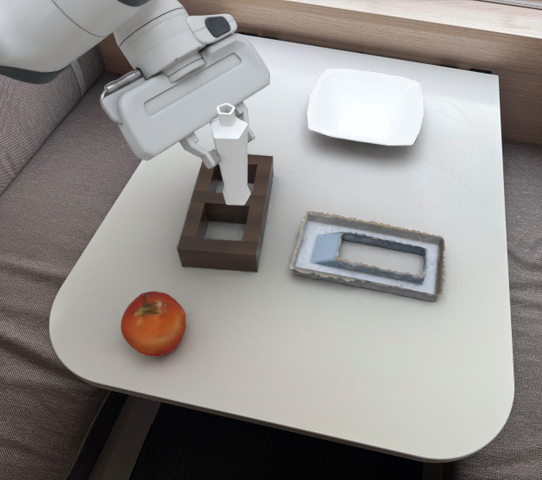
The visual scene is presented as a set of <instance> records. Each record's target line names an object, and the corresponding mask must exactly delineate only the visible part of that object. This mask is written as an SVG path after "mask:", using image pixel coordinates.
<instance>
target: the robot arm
mask: <svg viewBox="0 0 542 480" xmlns="http://www.w3.org/2000/svg"><path fill="white" fill-rule="evenodd" d="M237 29H238V24H237V22H236V20H235V18H234V17H233V15H231V14H229V13H219V14H209V15H208V14H207V15H206V14H205V15H189V14H188V12H187V10H186V8H185V7H184V6H183V5H182V3H181V2H180V1H179V0H0V75H1V76H4V77H5V78H9V79H12V80H15V81H18V82H22V83H26V84H32V85H46V84H49V83H52V82H53V81H54V80H55V79H56V78H58V77H59V76H60V75H61V74H62V73H63V72H64V71H65V70H67V68H69V67H70V66H71V65H72V63H74V61H77V59H79V58H80V57H82V56H83V55H84V54H85V53H87V52H89V51H90V50H92V49H93V48H94V47H96V46H97V45H98V44H99V43H100V42H102V41H104V40H105V39H106V38H107V37H109V36H110V35H111V34H113V37H114V39H115V43H116V46H117V47H118V48H119V49H120V52H121V53H122V54H123V56H124V57H125V59H126V60H127V62H128V63H129V65H130V66H131V67H132V70H131V71H129V72H127V73H125V74H124V75H122V76H121V77H119V78H118V79H115V80H112V81H110V82H108V83H107V84H105V85H104V87H103V90H102V92H101V94H100V97H99V102H100V106H101V108H102V110H103V111H104V112H105V114H106V115H107V117H108V118H109V119H110V120H111V121H112V122H114V123H115V124H117V126H118V128H119V130H120V132H121V134H122V136H123V138H124V140H125V141H126V144H127V145H128V146H129V149H130V150H131V151H132V153H133V155H134V156H135V157H136V158H137V159H140V160H142V161H146V162H149V161H151V160H152V159H154V158H155V157H158V156H159V155H160V154H162V153H164V152H165V151H167V150H169V149H170V148H171V147H173V146H175V145H176V144H178V143H179V144H180V146H181V147H182V149H183V150H184V151H186V152H188V153H190V154H192V155H193V156H195V157H197V158H200V160H201V162H202V161H203V162H204V164H205V165H206V167H207V168H209V169H210V168H213V167H214V166H216V165H217V164H218V163H220V162H221V161H222V160H221V158H220V156H218V154H217V152H216V149H215V148H212V149H210V150H208V149H206V148H204V147H203V146H201V145H200V144H198V142H200V139H199V137H198V136H197V134H196V133H195V132H197V131H198V130H200V129H201V128H204V127H205V126H206V125H208V124H210V122H212V121H214V120H217V119H218V118H219V113H218V111H217V106H219V105H222V104H224V103H229V104H231V105H233V106H234V107H235V110H234V112H235V117H237V118H238V119H240V120H242V121H244V122H246V123H247V124H248V144H249V143H250V142H252V141H253V140H255V139H256V135H255V134H254V132H253V130H252V128H251V127H250V126H249V125H250V118H249V116H250V115H249V109H248V107H247V106H246V104H245V102H244V101H246V100H248V99H250V97H253V96H254V95H256V94H257V93H258V92H260V91H262V90H264V88H266V87H268V86H269V85H270V84H271V72H270V71H269V69H268V67H267V65H266V63H265V62H264V60H263V58H262V57H261V55H260V54H259V52H258V50H257V49H256V48H255V47H254V45H253V44H252V42H251V41H250V40H249V39H248V38H247V37H245V35H243V34H241V33H237V32H236V31H237ZM235 32H236V33H235ZM107 94H108V95H107Z"/></svg>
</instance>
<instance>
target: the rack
mask: <svg viewBox="0 0 542 480" xmlns="http://www.w3.org/2000/svg"><path fill="white" fill-rule="evenodd" d="M274 174H275V173H274V155H265V154H263V155H262V154H252V153H251V154H250V153H248V162H247V184H253V186H252V191H251V194H250V196H249V198H248V200H247V202H246V203H245V205H227V204H226V202H225V199H224V195H223V192H218V191H217V190H218V186H219V183H220V181H221V182H223V178H222V174H221V170H220V165H219V163H218V164H217V165H216V166H214V167H213V168H210V169H209V168H207V167H206V165H205V164H204V162H203V161H202V160H201V163H200V167H199V170H198V174H197V178H196V181H195V184H194V188H193V191H192V194H191V198H190V202H189V205H188V208H187V212H186V214H185V219H184V223H183V226H182V229H181V233H180V236H179V240H178V243H177V247H176V251H177V254H178V258H179V261H180V264H181V267H182V268H196V269H209V270H219V271H233V272H246V273H258V272H259V266H260V261H261V254H262V248H263V243H264V236H265V230H266V224H267V220H268V219H267V218H268V212H269V205H270V200H271V194H272V187H273V182H274V176H275V175H274ZM209 222H214V223H225V224H239V225H245V227H244V233H243V237H242V240H232V239H220V238H219V239H218V238H205V237H206V234H207V230H208V225H209Z"/></svg>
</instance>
